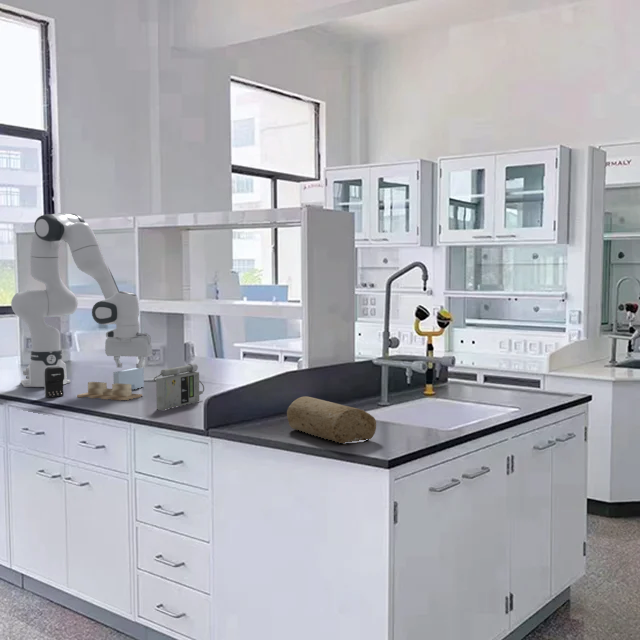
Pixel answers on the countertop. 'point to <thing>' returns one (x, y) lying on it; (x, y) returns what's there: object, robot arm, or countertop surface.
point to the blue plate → (130, 377)
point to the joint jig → (109, 391)
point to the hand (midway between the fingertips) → (129, 367)
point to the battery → (53, 381)
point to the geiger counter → (178, 387)
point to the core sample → (330, 420)
